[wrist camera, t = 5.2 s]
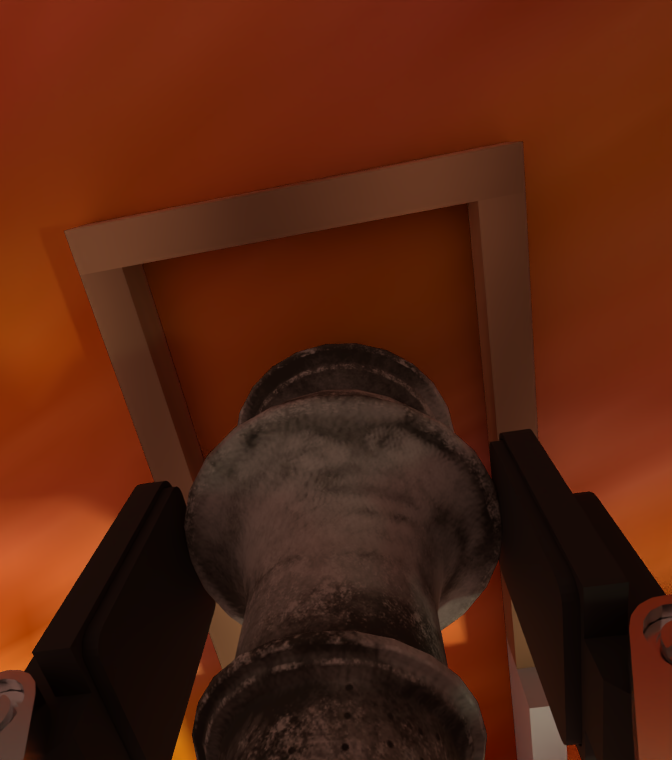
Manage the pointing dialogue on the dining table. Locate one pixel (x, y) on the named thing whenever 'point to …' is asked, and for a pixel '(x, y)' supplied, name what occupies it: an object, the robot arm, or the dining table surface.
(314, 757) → the dark grey chess piece
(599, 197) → the dining table surface
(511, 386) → the channel
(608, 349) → the dining table surface
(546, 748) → the socket
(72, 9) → the dining table surface
